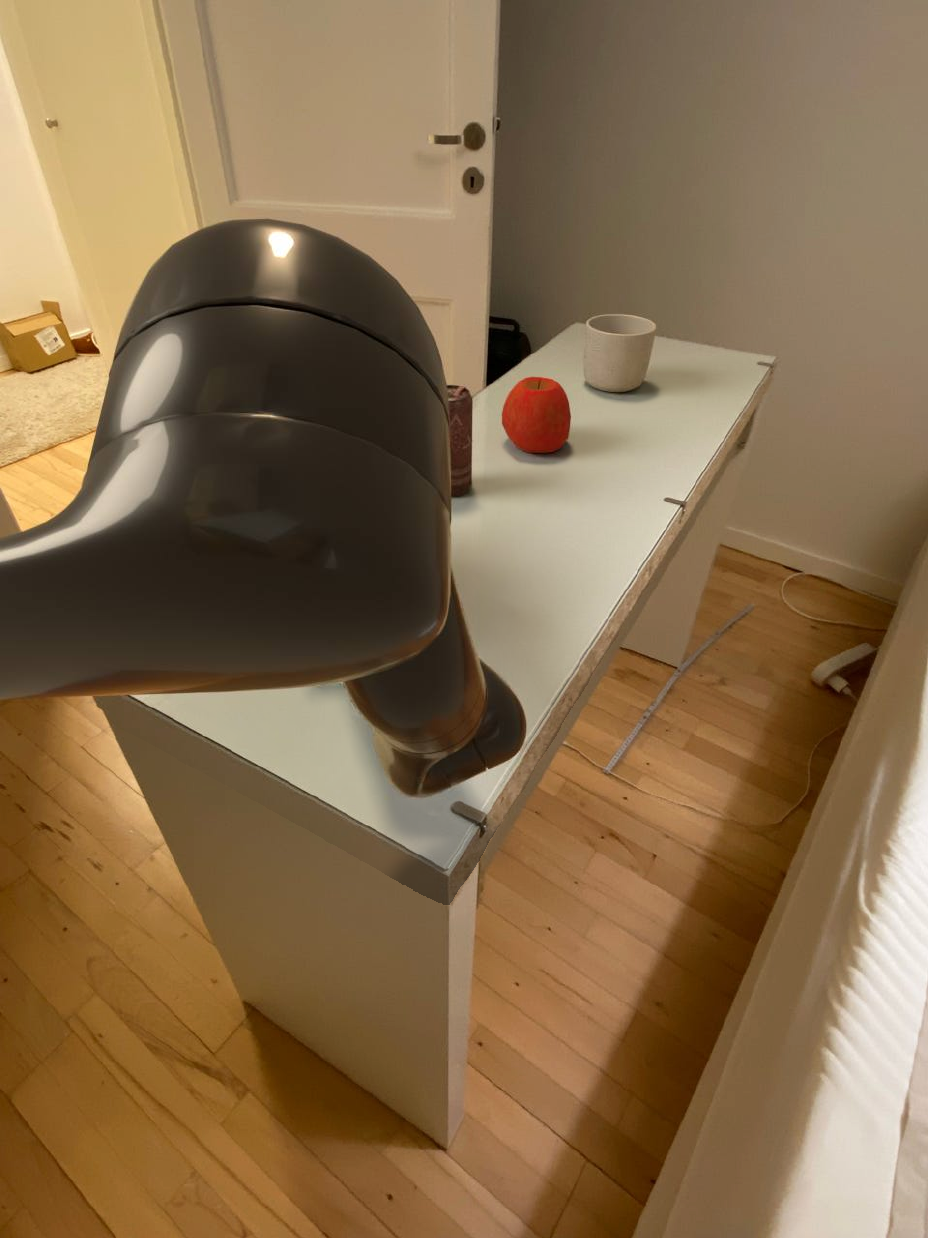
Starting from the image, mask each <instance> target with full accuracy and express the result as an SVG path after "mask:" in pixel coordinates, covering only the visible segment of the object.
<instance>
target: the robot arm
mask: <svg viewBox="0 0 928 1238" xmlns="http://www.w3.org/2000/svg"><path fill="white" fill-rule="evenodd" d="M116 342H117V343H116V346H115V349H114V354H113V358H112V363H111V365H110V369H109V372H108V380H107V385H106V389H105V393H104V396H103V402H102V405H101V410H100V414H99V417H98V422H97V426H96V431H95V433H94V439H93V443H92V446H91V450H90V454H89V459H88V462H87V463H88V464H87V466H86V467H87V468H86V472H85V473H84V475H83V477H82V481H81V488H80V490H79V491H78V492H77V494H76V495H75V496H74V498H73V499H72V500H71V502H70V503H68V504H67V506H66V507H65V508H63V509H62V510H61V511H60V512H59V513H57V514H55V516H53V517H52V518H50V519H48V520H46V521H44V522H42V523H39V524H37V525H35V526H32V527H30V528H27V529H25V530H23V531H19V532H15V533H13V534H9V535H5V536H1V537H0V701H5V700H6V701H7V700H25V699H27V700H28V699H48V698H70V697H71V698H76V697H77V698H79V697H80V698H81V697H108V696H140V695H141V696H144V695H146V696H147V695H172V694H173V695H174V694H179V695H180V694H204V693H206V694H209V693H232V692H251V691H269V690H270V691H271V690H287V689H288V690H289V689H297V688H307V687H308V688H309V687H317V686H324V685H331V684H337V683H342V684H343V687H344V689H345V691H346V693H347V694H348V697H349V698H350V701H351V702H352V704H353V707H354V708H355V709H356V710H357V712H358V713H359V714H360V716H361V717H362V718H363V719H364V720H365V722H366V723H367V724H368V725H369V726H370V727H372V732H373V733H372V734H373V742H374V748H375V752H376V756H377V759H378V762H379V764H380V767H381V769H382V771H383V773H384V776H385V777H386V778H387V780H388V782H389V783H390V784H391V785H392V786H393V788H395V789H396V790H397V792H399V793H400V794H401V795H404V796H406V797H408V798H411V799H412V798H413V799H424V798H429V797H433V796H437V795H438V794H441V793H443V792H445V791H448V790H449V789H451V788H453V787H455V786H457V785H460V784H462V783H464V782H466V781H468V780H470V779H472V778H474V777H477V776H479V775H481V774H483V773H484V772H487V770H492V769H493V768H496V767H498V766H500V765H502V764H505V763H506V762H508V761H510V760H512V759H513V758H514V757H515V756H517V755H518V753H519V752H520V751H521V750H522V748H523V746H524V743H525V741H526V737H527V729H528V728H527V727H528V726H527V723H528V722H527V718H526V713H525V710H524V708H523V705H522V702H521V701H520V699H519V697H518V695H517V694H516V692H515V691H514V689H513V688H512V687H511V686H510V684H509V683H508V681H506V680H505V679H504V678H503V677H502V675H500V674H499V673H498V672H497V671H496V670H495V669H494V668H492V666H491V665H489V664H488V663H487V662H485V661H484V660H483V659H482V658H480V657H479V654H478V652H477V649H476V646H475V643H474V640H473V637H472V634H471V630H470V627H469V625H468V624H469V623H468V620H467V617H466V614H465V611H464V607H463V603H462V600H461V595H460V593H459V589H458V586H457V581H456V578H455V574H454V570H453V565H452V529H451V527H452V497H451V447H450V417H449V401H448V390H447V385H448V384H447V379H446V375H445V370H444V365H443V361H442V358H441V354H440V351H439V348H438V345H437V341H436V339H435V336H434V335H433V333H432V331H431V328H430V327H429V325H428V322H427V321H426V319H425V317H424V315H423V313H422V311H421V308H420V307H419V306H418V305H417V303H416V302H415V301H414V300H413V298H412V297H411V296H410V294H409V293H408V292H407V290H406V289H405V288H404V287H403V286H402V285H401V283H400V282H399V280H398V279H397V278H396V277H395V276H394V275H392V274H391V273H390V272H389V271H388V270H387V269H386V268H384V267H383V266H382V265H381V264H380V263H378V262H377V261H376V260H375V259H374V258H373V257H372V256H370V255H369V254H368V253H366V252H364V251H362V250H360V249H359V248H358V247H355V245H352V244H351V243H349V242H347V241H345V240H344V239H343V238H340V237H339V236H336V235H334V234H330V233H328V232H325V231H322V230H319V229H317V228H314V227H312V226H309V225H306V224H302V223H296V222H292V221H284V220H278V219H272V218H249V219H248V218H246V219H245V218H244V219H229V220H225V221H220V222H216V223H213V224H210V225H206V226H204V227H203V226H202V227H201V228H199V229H197V230H196V231H194V232H192V233H190V234H188V235H187V236H185V237H183V238H181V239H180V240H178V241H176V242H174V243H172V244H171V245H170V246H169V247H168V248H167V249H166V250H165V252H164V253H162V254H161V256H160V257H158V258H157V259H156V260H155V261H154V262H153V263H152V265H151V266H150V267H149V269H148V271H147V272H146V274H145V276H144V278H143V280H142V281H141V283H140V285H139V287H138V289H137V290H136V293H135V295H134V296H133V298H132V301H131V303H130V305H129V307H128V309H127V311H126V314H125V317H124V319H123V322H122V325H121V328H120V332H119V335H118V338H117V341H116Z"/></svg>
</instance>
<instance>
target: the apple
mask: <svg viewBox="0 0 928 1238" xmlns="http://www.w3.org/2000/svg"><path fill="white" fill-rule="evenodd" d="M571 422H572V415H571V407H570V401H569V398H568V395H567V392H566V391H565V389H564V387H562V385H561V384H560V383H559V382H558V381H556V380H554V379H553V378H549V377H542V376H529V377H524V378H522V379H521V380H520V381H518V382H517V383H516V384H515V385H514V386H513V387H512V389H511V390H509V393H508V395H507V397H506V399H505V401H504V403H503V407H502V411H501V425H502V427H503V429H504V431H505V433H506V436H507V437H508V439H509V440H510V441H511V442H512V444H513V445H514V446H515V447H516V448H518V449H520V450H521V451H523V452H526V453H531V454H533V453H534V454H545V453H554V452H556V451H558V450H559V449H561V448H562V447H563V446H564V445H565V443H566V442H567V440H568V439H569V434H570V430H571Z"/></svg>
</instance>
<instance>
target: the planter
mask: <svg viewBox="0 0 928 1238" xmlns="http://www.w3.org/2000/svg"><path fill="white" fill-rule="evenodd" d="M656 333H657V324H656V323H655V322H653V321H652V320H650V319H648V318H646V317H642V316H639V315H634V314H633V315H632V314H622V313H609V314H608V313H607V314H600V315H599V314H598V315H595V316H592V317H590V318H588V319H587V321H586V322H585V331H584V345H583V359H582V360H583V364H582V365H583V366H582V367H583V371H582V372H583V376H584V379H585V381H586V382H587V384H588V385H590V386H591V388H592V387H593V389H596V390H599V391H602V392H607V393H625V392H629V391H633V390H635V389H637V388H638V387H640V386H641V385H642V383H643V382H644V380H645V378H646V375H647V372H648V369H649V365H650V360H651V357H652V352H653V347H654V343H655V337H656Z"/></svg>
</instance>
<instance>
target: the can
mask: <svg viewBox="0 0 928 1238" xmlns="http://www.w3.org/2000/svg"><path fill="white" fill-rule="evenodd" d="M447 390H448V401H449V417H450V447H451V498H456V497H460V496H463V495H465V494H467V493H468V491H470V490H471V487H472V484H473V483H472V481H473V479H472V478H473V405H474V403H473V402H474V401H473V396H472V395H471V392H470V391H471V390H469V389H468V388H467V387H466V386H464V385H455V384H447Z"/></svg>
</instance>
